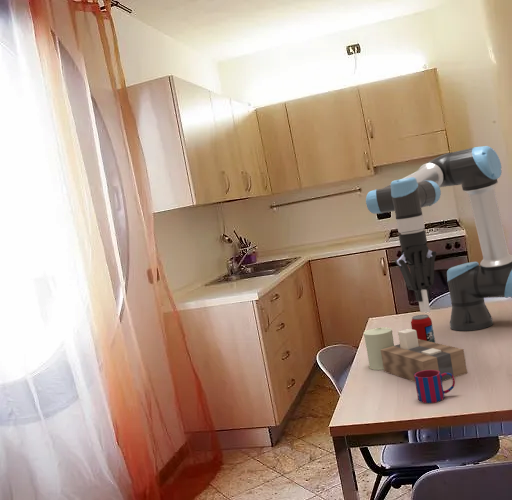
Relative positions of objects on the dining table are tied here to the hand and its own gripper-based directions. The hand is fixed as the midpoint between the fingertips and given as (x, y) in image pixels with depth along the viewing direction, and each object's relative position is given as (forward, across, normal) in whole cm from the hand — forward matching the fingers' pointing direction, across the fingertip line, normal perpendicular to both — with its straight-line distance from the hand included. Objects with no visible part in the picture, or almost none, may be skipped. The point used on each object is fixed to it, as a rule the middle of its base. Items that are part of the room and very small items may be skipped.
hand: (425, 311), depth 180 cm
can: (+19, +4, -22) cm, 30 cm away
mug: (+19, +11, +16) cm, 27 cm away
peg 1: (+14, 0, -11) cm, 18 cm away
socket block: (+19, 0, -5) cm, 20 cm away
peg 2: (+19, 0, 0) cm, 19 cm away
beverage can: (+20, -14, -23) cm, 33 cm away
